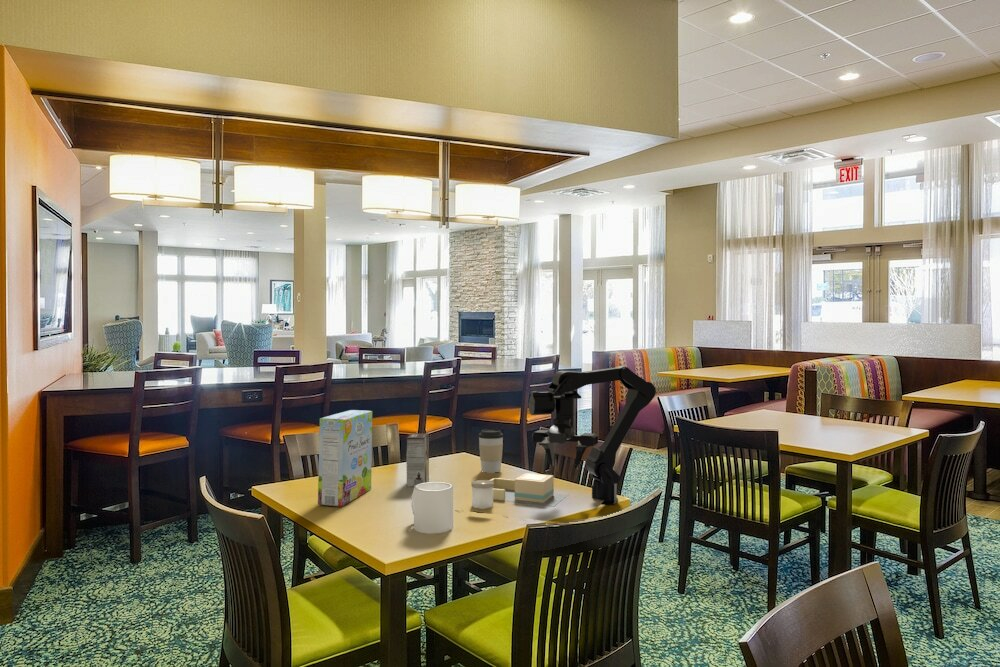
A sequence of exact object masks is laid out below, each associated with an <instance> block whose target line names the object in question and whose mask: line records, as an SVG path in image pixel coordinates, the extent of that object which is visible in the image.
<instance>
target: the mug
mask: <svg viewBox="0 0 1000 667" xmlns="http://www.w3.org/2000/svg"><path fill="white" fill-rule="evenodd" d="M411 510H412V514H413V529H414V530H415V532H418V533H422V534H428V535H429V534H443V533H447V532H449V531H452V529H453V528H454V485H453V484H451V483H449V482H443V481H430V482H429V481H428V482H427V483H421V484H417V485H415V486H414V487H413V491H412V495H411Z"/></svg>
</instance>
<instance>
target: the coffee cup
mask: <svg viewBox="0 0 1000 667" xmlns="http://www.w3.org/2000/svg"><path fill="white" fill-rule="evenodd" d="M477 437H478V439H479V440H478V441H479V442H478V446H479V458H480V468H481V472H482V471H483V472H482V473H484V472H488V473H487V474H496V473H495V472H499V473H500V472H501V470H502V460H503V449H504V448H503V447H504V443H503V440H504V433H503V432H501V430H500V429H499V428H492V429H491V428H490V429H482V430H481V431H480V432H479V433H478V436H477Z"/></svg>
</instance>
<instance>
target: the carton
mask: <svg viewBox="0 0 1000 667" xmlns="http://www.w3.org/2000/svg"><path fill="white" fill-rule="evenodd" d="M554 477H555V476H554V475H553V474H543V473H542V474H540V473H533V472H532V473H531V472H530V473H529V472H525V473H523V474H521V475H519V476H518V477H515V478H514V480H515V492H514V496H515V500H523V501H532V502H541V503H544V502H545V501H547V500H548V499H549V498H551V497H552V496H553V495H554V493H555V492H554V491H555V490H554V489H555V488H554V481H555V480H554Z"/></svg>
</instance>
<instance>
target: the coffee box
mask: <svg viewBox="0 0 1000 667" xmlns="http://www.w3.org/2000/svg"><path fill="white" fill-rule="evenodd" d="M429 434H430V433H427V432H426V433H423V432H422V433H421V432H420V433H418V432H417V433H416V432H415V433H414V432H413V433H410V434H409V435H408V436H407V437H406V438H405V440H406V447H405V448H406V487H410V488H411V487H412V488H414V486H415V485H417V484H421V483H427V482H429V480H430V460H429V459H430V454H429V453H430V446H429V444H430V441H429Z"/></svg>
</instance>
